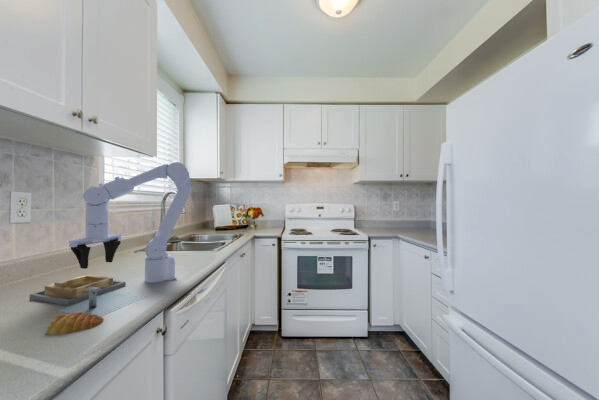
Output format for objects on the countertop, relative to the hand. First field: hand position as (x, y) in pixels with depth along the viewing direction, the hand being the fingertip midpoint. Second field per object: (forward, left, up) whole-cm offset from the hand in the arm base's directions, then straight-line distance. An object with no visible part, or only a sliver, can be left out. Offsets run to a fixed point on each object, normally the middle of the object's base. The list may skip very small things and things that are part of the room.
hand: (97, 264), depth 79 cm
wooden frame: (+5, 0, -8) cm, 9 cm away
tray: (+5, 0, -8) cm, 9 cm away
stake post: (+12, +15, -8) cm, 21 cm away
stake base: (+9, +15, -8) cm, 19 cm away
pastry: (+19, +21, -9) cm, 30 cm away
